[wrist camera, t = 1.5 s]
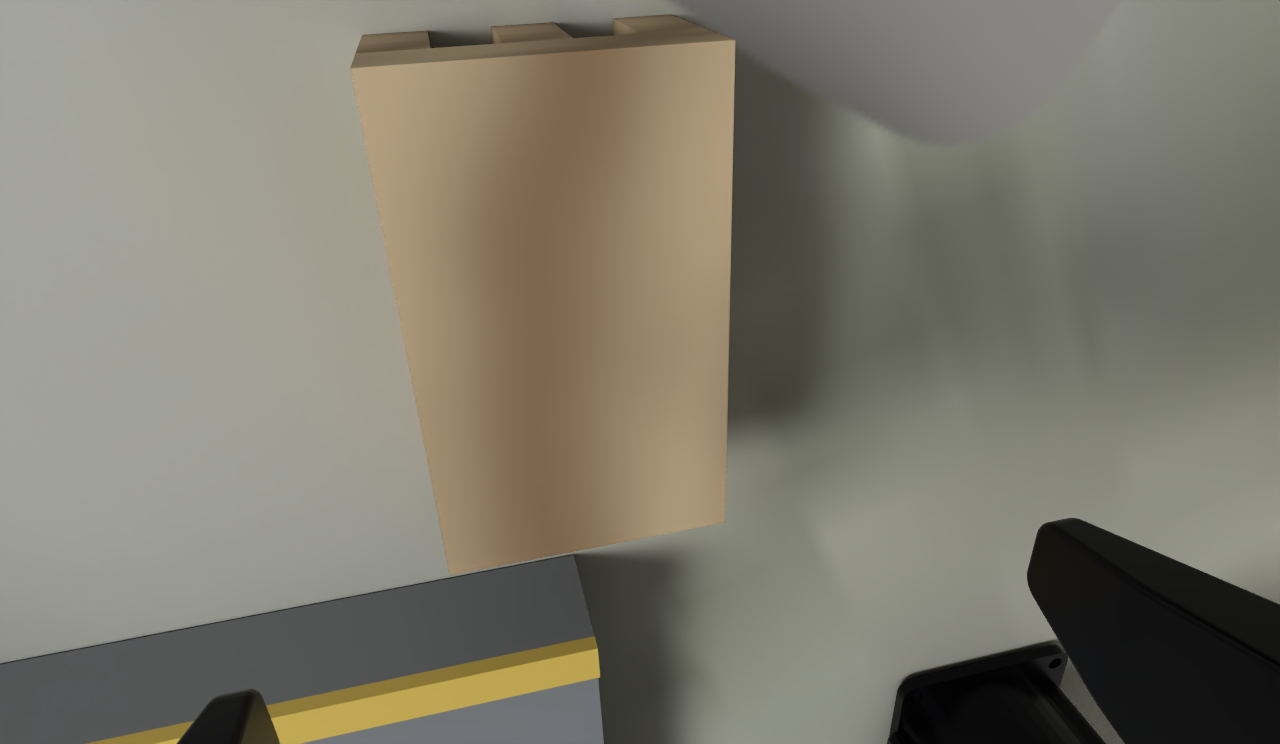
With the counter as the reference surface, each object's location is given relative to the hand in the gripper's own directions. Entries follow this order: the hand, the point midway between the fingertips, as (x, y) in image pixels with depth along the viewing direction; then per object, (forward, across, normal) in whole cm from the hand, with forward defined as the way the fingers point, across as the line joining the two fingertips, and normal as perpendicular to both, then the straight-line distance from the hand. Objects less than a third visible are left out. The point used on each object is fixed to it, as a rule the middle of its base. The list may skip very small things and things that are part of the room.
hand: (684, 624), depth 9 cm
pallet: (+11, 0, 0) cm, 11 cm away
